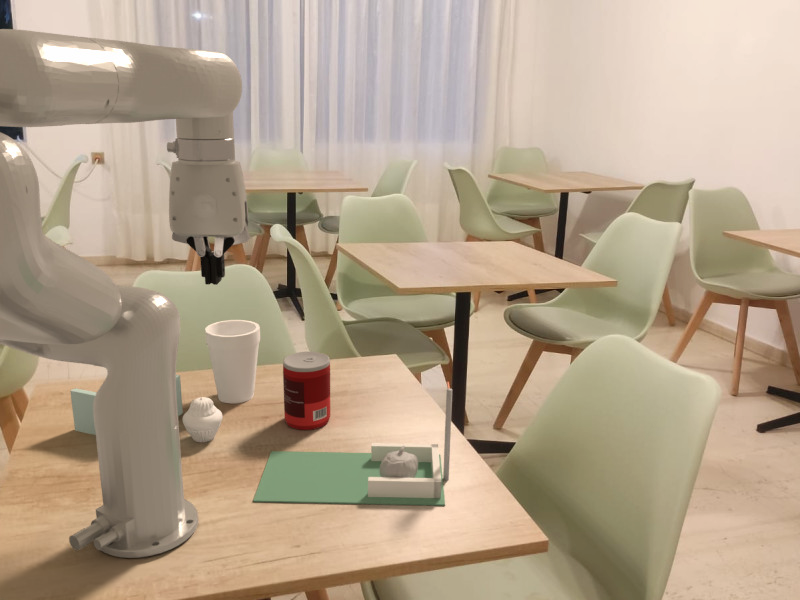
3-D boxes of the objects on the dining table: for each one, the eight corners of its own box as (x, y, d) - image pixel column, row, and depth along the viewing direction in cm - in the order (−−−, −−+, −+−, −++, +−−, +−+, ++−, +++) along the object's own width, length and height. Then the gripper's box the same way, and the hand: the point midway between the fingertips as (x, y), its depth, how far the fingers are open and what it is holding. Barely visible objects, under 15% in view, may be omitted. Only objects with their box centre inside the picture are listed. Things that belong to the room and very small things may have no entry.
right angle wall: (182, 416, 126) (180, 375, 124) (135, 446, 115) (131, 402, 113) (125, 404, 130) (122, 365, 128) (75, 433, 119) (70, 390, 117)
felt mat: (253, 501, 100) (253, 500, 99) (271, 452, 113) (271, 451, 113) (444, 505, 99) (445, 504, 99) (440, 455, 113) (440, 454, 113)
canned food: (334, 411, 127) (334, 352, 124) (325, 432, 120) (324, 369, 117) (291, 409, 128) (289, 349, 125) (279, 429, 120) (277, 367, 117)
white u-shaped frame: (368, 498, 101) (368, 404, 97) (371, 458, 111) (372, 373, 108) (450, 499, 101) (454, 406, 97) (446, 460, 111) (450, 374, 108)
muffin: (183, 431, 119) (180, 391, 117) (221, 427, 121) (219, 387, 119) (184, 449, 113) (181, 407, 111) (225, 444, 115) (223, 403, 113)
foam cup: (221, 384, 138) (217, 318, 134) (268, 387, 137) (266, 321, 133) (201, 405, 129) (196, 335, 125) (251, 409, 128) (248, 338, 124)
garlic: (400, 468, 109) (401, 436, 107) (426, 482, 105) (427, 449, 103) (370, 482, 105) (370, 449, 103) (396, 497, 101) (397, 463, 99)
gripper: (142, 153, 96) (152, 288, 101) (256, 155, 96) (261, 290, 101) (160, 148, 103) (169, 274, 109) (266, 150, 103) (270, 276, 108)
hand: (213, 281), depth 105 cm, fingers closed
